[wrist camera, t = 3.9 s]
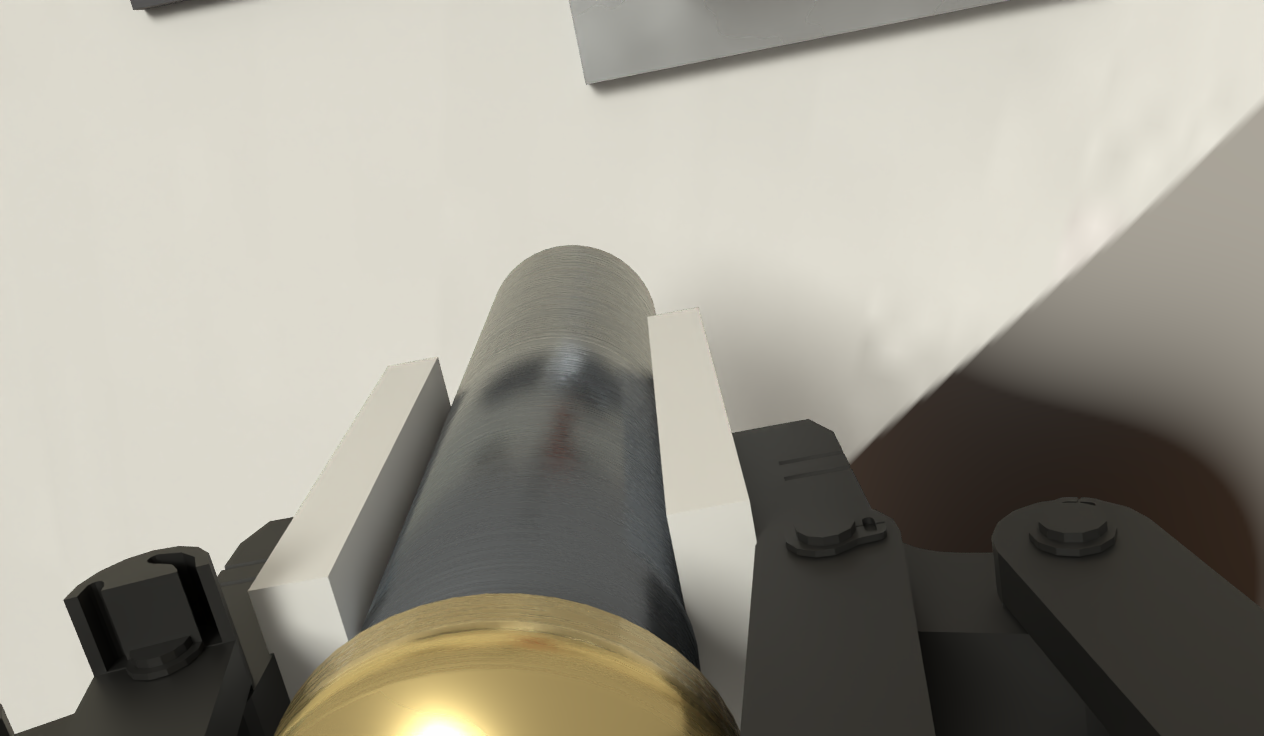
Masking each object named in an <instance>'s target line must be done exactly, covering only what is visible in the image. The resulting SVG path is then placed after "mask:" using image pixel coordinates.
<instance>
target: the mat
mask: <svg viewBox="0 0 1264 736" xmlns="http://www.w3.org/2000/svg"><path fill="white" fill-rule="evenodd" d="M130 1H131V4H132V7H133V10H144V9H149V8H154V7H158V6H163V5H168V4H173V3H177V2H182V1H187V0H130Z"/></svg>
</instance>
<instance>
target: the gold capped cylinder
mask: <svg viewBox="0 0 1264 736" xmlns="http://www.w3.org/2000/svg"><path fill="white" fill-rule="evenodd" d="M655 315H656V312H655V308H654V304H653V301H652V298H651V296H650V293H649V291H648V289H647V288H646V286H645V284H644V283H643V281H642V280H641V279H640V277H639V276H638V275H637V273H635V272H634V271H633V270H632V269H631V268H630V267H629V266H628V265H627V264H626V263H624V262H623V261H622V260H620V259H619V258H617V257H615V256H613V255H612V254H610V253H607V252H605V251H602V250H599V249H596V248H592V247H587V246H579V245H567V246H559V247H554V248H550V249H546V250H543V251H541V252H539V253H536V254H534V255H532V256H531V257H529V258H527V259H526V260H524V261H523V262H522V263H520V264H519V265H518V266H517V267H516V268H515V269H514V270H513V271H512V272H511V273H510V274H509V275H508V276H507V278H506V279H505V280H504V282H503V283H502V285H501V287H500V289H499V290H498V293H497V295H496V298H495V300H494V302H493V305H492V307H491V310H490V312H489V315H488V317H487V320H486V322H485V325H484V327H483V330H482V332H481V335H480V337H479V339H478V342H477V344H476V347H475V349H474V352H473V354H472V357H471V359H470V362H469V364H468V367H467V369H466V372H465V374H464V377H463V379H462V381H461V384H460V386H459V389H458V391H457V394H456V396H455V399H454V401H453V404H452V406H451V409H450V411H449V414H448V416H447V418H446V421H445V423H444V426H443V428H442V431H441V433H440V436H439V438H438V441H437V443H436V446H435V448H434V451H433V453H432V455H431V458H430V460H429V463H428V465H427V468H426V470H425V473H424V475H423V478H422V480H421V483H420V485H419V488H418V490H417V493H416V495H415V497H414V500H413V502H412V505H411V507H410V510H409V512H408V515H407V517H406V520H405V522H404V525H403V527H402V530H401V532H400V534H399V537H398V539H397V542H396V544H395V547H394V549H393V552H392V554H391V557H390V559H389V562H388V564H387V567H386V569H385V571H384V574H383V576H382V579H381V581H380V584H379V586H378V589H377V591H376V594H375V596H374V599H373V601H372V604H371V606H370V609H369V611H368V613H367V616H366V618H365V621H364V623H363V626H362V628H361V631H360V633H359V634H358V635H356V636H355V637H353V638H352V639H351V640H349V641H348V642H346V643H345V644H344V645H342V646H341V647H339V648H338V649H337V650H335V651H334V652H333V653H332V654H331V655H330V656H329V657H328V658H327V659H326V660H325V661H324V662H323V663H321V664H320V665H319V666H318V667H317V668H316V669H315V670H314V671H313V672H312V674H311V675H310V676H309V677H308V679H307V680H306V681H305V683H304V684H303V685H302V686H301V688H300V689H299V690H298V691H297V693H296V694H295V696H294V698H293V699H292V701H291V703H290V705H289V706H288V708H287V710H286V712H285V713H284V715H283V717H282V719H281V721H280V723H279V725H278V727H277V730H276V732H275V734H274V736H740V730H739V728H738V725H737V723H736V721H735V719H734V716H733V715H732V713H731V712H730V710H729V709H728V707H727V705H726V704H725V702H724V701H723V699H722V698H721V696H720V695H719V693H718V692H717V690H716V689H715V688H714V687H713V686H712V685H711V683H710V682H709V681H708V680H707V679H706V678H705V676H704V675H703V674H702V673H701V670H700V662H699V654H698V646H697V641H696V638H695V634H694V631H693V627H692V624H691V622H690V620H689V617H688V615H687V613H686V609H685V604H684V600H683V595H682V590H681V585H680V580H679V575H678V570H677V565H676V560H675V555H674V550H673V545H672V540H671V535H670V531H669V526H668V521H667V516H666V506H665V495H664V485H663V475H662V464H661V454H660V443H659V433H658V422H657V412H656V401H655V391H654V380H653V370H652V360H651V349H650V339H649V328H648V318H647V317H650V316H655Z"/></svg>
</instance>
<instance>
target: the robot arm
mask: <svg viewBox="0 0 1264 736" xmlns="http://www.w3.org/2000/svg"><path fill="white" fill-rule="evenodd" d="M647 318H648V328H649V339H650V349H651V360H652V370H653V380H654V391H655V401H656V412H657V422H658V433H659V443H660V454H661V464H662V475H663V485H664V495H665V506H666V516H667V521H668V526H669V531H670V535H671V540H672V545H673V550H674V555H675V560H676V565H677V570H678V575H679V580H680V585H681V590H682V595H683V600H684V604H685V609H686V613H687V615H688V617H689V620H690V622H691V624H692V627H693V631H694V634H695V638H696V641H697V646H698V654H699V662H700V670H701V673H702V674H703V675H704V676H705V678H706V679H707V680H708V681H709V682H710V683H711V685H712V686H713V687H714V688H715V689H716V690H717V692H718V693H719V695H720V696H721V698H722V699H723V701H724V702H725V704H726V705H727V707H728V709H729V710H730V712H731V713H732V715H733V716H734V719H735V721H736V723H737V725H738V728H739V730H740V736H1264V610H1263V609H1261V608H1260V607H1259V606H1258V605H1257V604H1255V603H1254V602H1253V601H1251V600H1250V599H1249V598H1248V597H1247V596H1245V595H1244V594H1243V593H1242V592H1240V591H1239V590H1238V589H1237V588H1235V587H1234V586H1233V585H1231V584H1230V583H1229V582H1228V581H1226V580H1225V579H1224V578H1223V577H1222V576H1220V575H1219V574H1218V573H1217V572H1215V571H1214V570H1213V569H1212V568H1210V567H1209V566H1208V565H1207V564H1205V563H1204V562H1203V561H1201V560H1200V559H1199V558H1198V557H1197V556H1195V555H1194V554H1193V553H1192V552H1190V551H1189V550H1188V549H1187V548H1185V547H1184V546H1183V545H1182V544H1180V543H1179V542H1178V541H1177V540H1175V539H1174V538H1173V537H1172V536H1170V535H1169V534H1168V533H1167V532H1165V531H1164V530H1163V529H1162V528H1161V527H1159V526H1158V525H1157V524H1156V523H1154V522H1153V521H1152V520H1150V519H1149V518H1148V517H1146V516H1144V515H1142V514H1140V513H1138V512H1136V511H1135V510H1133V509H1131V508H1129V507H1126V506H1122V505H1118V504H1113V503H1109V502H1105V501H1101V500H1099V499H1095V498H1084V497H1082V498H1081V499H1078V497H1063V498H1059V499H1057V500H1053V501H1045V502H1038V503H1036V504H1033V505H1029V506H1026V507H1023V508H1020V509H1017V510H1014V511H1013V512H1012V513H1010V514H1009V515H1007V516H1006V517H1005V518H1003V519H1002V520H1000V521H999V522H998V523H997V525H996V528H995V530H994V532H993V535H992V547H993V553H952V552H937V551H931V550H926V549H921V548H916V547H913V546H910V545H908V544H905V543H902V537H901V532H900V530H899V528H898V527H897V525H896V523H895V522H894V520H893V519H892V518H890V517H888V516H886V515H884V514H883V513H881V512H879V511H877V510H874V509H872V508H871V507H870V504H869V502H868V500H867V498H866V497H865V494H864V492H863V490H862V488H861V486H860V484H859V483H858V480H857V478H856V476H855V474H854V472H853V470H852V469H851V468H850V464H849V462H848V460H847V458H846V456H845V454H843V451H842V448H841V446H840V444H839V442H838V440H837V438H836V436H835V434H834V432H833V431H831V430H829V429H827V428H825V427H823V426H821V425H819V424H817V423H815V422H813V421H811V420H809V419H806V420H801V421H795V422H790V423H784V424H779V425H773V426H768V427H763V428H757V429H752V430H746V431H741V432H735V433H732V432H731V428H730V425H729V421H728V417H727V413H726V410H725V406H724V402H723V398H722V394H721V391H720V387H719V383H718V379H717V376H716V372H715V368H714V364H713V360H712V357H711V353H710V349H709V345H708V342H707V338H706V334H705V330H704V326H703V323H702V319H701V315H700V311H699V307H697V308H692V309H686V310H681V311H676V312H671V313H665V314H660V315H655V316H650V317H647ZM450 409H451V405H450V401H449V398H448V394H447V390H446V386H445V382H444V379H443V375H442V371H441V367H440V363H439V360H438V357H434V358H429V359H423V360H418V361H413V362H408V363H402V364H397V365H392V366H388V367H387V369H386V370H385V372H384V373H383V375H382V377H381V378H380V380H379V381H378V383H377V385H376V386H375V388H374V389H373V391H372V393H371V394H370V396H369V397H368V399H367V401H366V402H365V404H364V405H363V407H362V409H361V410H360V412H359V413H358V415H357V417H356V418H355V420H354V421H353V423H352V425H351V426H350V428H349V430H348V431H347V433H346V434H345V436H344V438H343V439H342V441H341V442H340V444H339V446H338V447H337V449H336V450H335V452H334V454H333V455H332V457H331V458H330V460H329V462H328V463H327V465H326V466H325V468H324V470H323V471H322V473H321V474H320V476H319V478H318V479H317V481H316V482H315V484H314V486H313V487H312V489H311V490H310V492H309V494H308V495H307V497H306V499H305V500H304V502H303V503H302V505H301V507H300V508H299V510H298V511H297V513H296V515H295V516H294V517H291V518H286V519H280V520H275V521H270V522H268V523H267V524H266V525H264V526H263V527H262V528H260V529H259V530H258V531H257V532H255V533H254V534H253V535H251V536H250V537H249V538H247V539H246V540H245V541H243V542H242V543H241V544H240V545H239V546H238V548H237V549H236V551H235V552H234V554H233V555H232V556H231V558H230V559H229V561H228V562H227V564H226V565H225V570H222V571H221V572H220V574H219V575H218V577H217V575H216V572H215V569H214V566H213V564H212V561H211V558H210V555H209V553H208V552H206V551H204V550H202V549H201V548H199V547H186V546H177V547H171V548H165V549H159V550H153V551H150V552H147V553H144V554H141V555H138V556H135V557H131V558H128V559H125V560H123V561H121V562H119V563H117V564H115V565H112V566H110V567H108V568H106V569H104V570H102V571H99V572H98V573H96V574H95V575H93V576H92V577H90V578H89V579H87V580H86V581H84V582H82V583H81V584H79V585H78V586H77V587H76V588H75V589H74V590H73V591H72V592H71V593H70V594H69V595H68V596H67V597H66V598H65V599H64V603H65V605H66V608H67V610H68V613H69V615H70V617H71V620H72V622H73V625H74V627H75V630H76V632H77V635H78V637H79V640H80V642H81V645H82V647H83V650H84V652H85V655H86V657H87V659H88V662H89V664H90V667H91V669H92V672H93V674H94V678H93V680H92V682H91V684H90V685H89V687H88V689H87V691H86V693H85V695H84V697H83V699H82V701H81V702H80V704H79V706H78V708H77V710H76V712H75V714H72V715H69V716H66V717H63V718H60V719H58V720H55V721H52V722H49V723H46V724H43V725H40V726H37V727H35V728H32V729H29V730H26V731H23V732H20V733H17V734H14V732H13V729H12V727H11V725H10V723H9V720H8V718H7V716H6V714H5V711H4V709H3V707H2V704H0V736H274V734H275V732H276V730H277V727H278V725H279V723H280V721H281V719H282V717H283V715H284V713H285V712H286V710H287V708H288V706H289V705H290V703H291V701H292V699H293V698H294V696H295V694H296V693H297V691H298V690H299V689H300V688H301V686H302V685H303V684H304V683H305V681H306V680H307V679H308V677H309V676H310V675H311V674H312V672H313V671H314V670H315V669H316V668H317V667H318V666H319V665H320V664H321V663H323V662H324V661H325V660H326V659H327V658H328V657H329V656H330V655H331V654H332V653H333V652H334V651H335V650H337V649H338V648H339V647H341V646H342V645H344V644H345V643H346V642H348V641H349V640H351V639H352V638H353V637H355V636H356V635H358V634H359V633H360V631H361V628H362V626H363V623H364V621H365V618H366V616H367V613H368V611H369V609H370V606H371V604H372V601H373V599H374V596H375V594H376V591H377V589H378V586H379V584H380V581H381V579H382V576H383V574H384V571H385V569H386V567H387V564H388V562H389V559H390V557H391V554H392V552H393V549H394V547H395V544H396V542H397V539H398V537H399V534H400V532H401V530H402V527H403V525H404V522H405V520H406V517H407V515H408V512H409V510H410V507H411V505H412V502H413V500H414V497H415V495H416V493H417V490H418V488H419V485H420V483H421V480H422V478H423V475H424V473H425V470H426V468H427V465H428V463H429V460H430V458H431V455H432V453H433V451H434V448H435V446H436V443H437V441H438V438H439V436H440V433H441V431H442V428H443V426H444V423H445V421H446V418H447V416H448V414H449V411H450Z"/></svg>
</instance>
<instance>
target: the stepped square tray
mask: <svg viewBox="0 0 1264 736" xmlns="http://www.w3.org/2000/svg"><path fill="white" fill-rule="evenodd" d="M1003 1H1008V0H569V3H570V8H571V13H572V18H573V23H574V28H575V33H576V38H577V43H578V48H579V53H580V58H581V63H582V68H583V73H584V78H585V83H586V85H587V84H592V83H597V82H602V81H607V80H612V79H617V78H622V77H627V76H632V75H637V74H642V73H647V72H652V71H657V70H662V69H667V68H672V67H677V66H682V65H687V64H692V63H697V62H702V61H707V60H712V59H717V58H722V57H727V56H732V55H737V54H742V53H747V52H752V51H757V50H762V49H767V48H772V47H777V46H782V45H787V44H793V43H798V42H803V41H808V40H813V39H818V38H823V37H828V36H833V35H838V34H843V33H848V32H853V31H858V30H863V29H868V28H873V27H878V26H883V25H888V24H893V23H898V22H903V21H908V20H913V19H918V18H923V17H928V16H933V15H938V14H943V13H948V12H953V11H958V10H963V9H968V8H973V7H978V6H983V5H988V4H993V3H998V2H1003Z"/></svg>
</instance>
